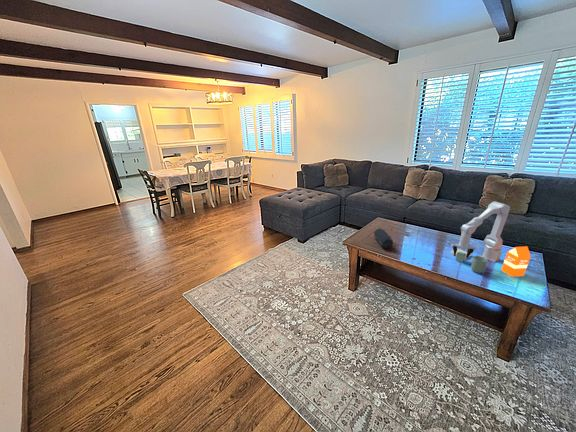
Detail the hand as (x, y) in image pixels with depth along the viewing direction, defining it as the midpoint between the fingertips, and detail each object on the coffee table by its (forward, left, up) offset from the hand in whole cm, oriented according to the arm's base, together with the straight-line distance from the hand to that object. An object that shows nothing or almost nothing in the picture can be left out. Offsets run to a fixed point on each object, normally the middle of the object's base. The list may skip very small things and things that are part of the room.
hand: (460, 256), depth 177 cm
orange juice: (-27, -12, -3) cm, 30 cm away
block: (0, 0, -3) cm, 3 cm away
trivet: (+4, -9, -4) cm, 10 cm away
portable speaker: (+50, +26, -3) cm, 56 cm away
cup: (-14, +6, -3) cm, 16 cm away
